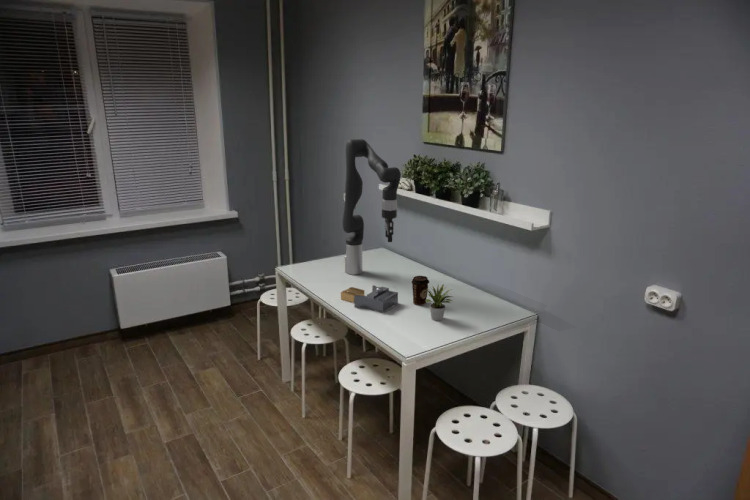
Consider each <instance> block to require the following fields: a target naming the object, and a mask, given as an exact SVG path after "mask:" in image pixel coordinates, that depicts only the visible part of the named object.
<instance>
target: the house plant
mask: <svg viewBox="0 0 750 500" xmlns="http://www.w3.org/2000/svg"><path fill="white" fill-rule="evenodd" d="M439 285H440V284H438V283H437V287H436V288H435V287H434V286H433V285H432V288H431V287H430V289H431V290H432V291H433V292H432V291H431V290H430V289H429V288H428V290H427V289H426V290H427V293H428V296H429V297H430V298H431V299H432V300H431V299H429V298H426V303H430V304H429V310H430V311H429V312H430V316H431V320H432V321H434V322H441V321H443V319H444V315H445V310H446V305H445V303H446V304H447V303H448V304H451V302H453V300H452V299H450V298H453V296H452V295H450V293H448V292H450V291H452V290H453V289H448V290H447V291H445V292H444V293H443V291H444V290H445V289H446V288H447V286H446V287H445V284H442V285H441V286H439ZM424 291H425V290H424ZM433 293H434V295H433ZM442 293H443V294H442Z"/></svg>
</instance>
